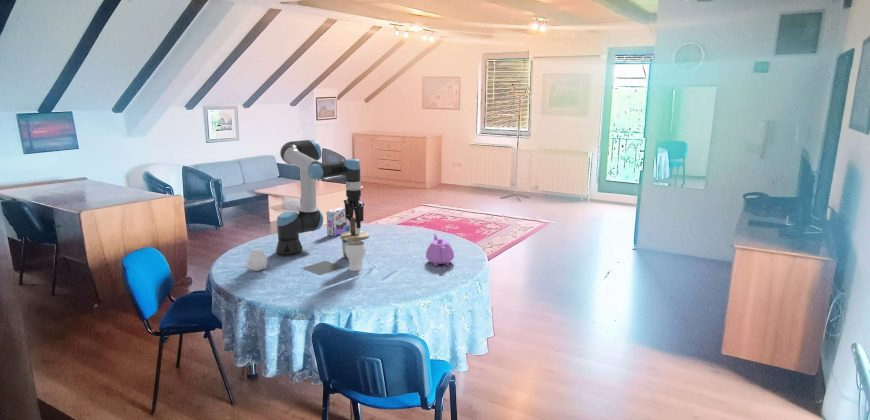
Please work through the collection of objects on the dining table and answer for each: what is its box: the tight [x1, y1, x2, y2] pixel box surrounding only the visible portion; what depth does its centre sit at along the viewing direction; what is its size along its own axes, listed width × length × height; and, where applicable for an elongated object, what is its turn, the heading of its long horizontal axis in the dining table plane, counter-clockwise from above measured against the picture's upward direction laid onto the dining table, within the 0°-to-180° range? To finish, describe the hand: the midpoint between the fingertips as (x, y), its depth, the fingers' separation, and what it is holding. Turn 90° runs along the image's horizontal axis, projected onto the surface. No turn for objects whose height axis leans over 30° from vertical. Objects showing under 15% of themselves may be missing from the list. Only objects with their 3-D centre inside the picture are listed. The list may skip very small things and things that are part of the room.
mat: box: [301, 260, 345, 276], centre depth 284 cm, size 16×16×1 cm
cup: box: [345, 240, 366, 272], centre depth 282 cm, size 11×11×15 cm
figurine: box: [246, 246, 268, 272], centre depth 282 cm, size 10×10×12 cm
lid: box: [339, 216, 370, 241], centre depth 278 cm, size 15×15×10 cm
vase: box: [341, 224, 362, 260], centre depth 300 cm, size 11×11×19 cm
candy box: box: [326, 207, 349, 237], centre depth 349 cm, size 14×6×16 cm, turn 147°
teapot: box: [425, 233, 455, 267], centre depth 295 cm, size 22×16×14 cm
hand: (354, 233), depth 279 cm, fingers closed on lid, 4 cm apart
